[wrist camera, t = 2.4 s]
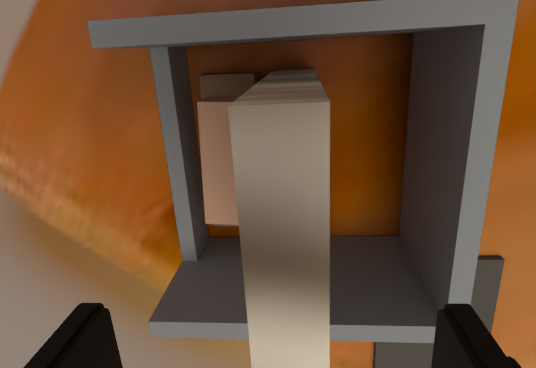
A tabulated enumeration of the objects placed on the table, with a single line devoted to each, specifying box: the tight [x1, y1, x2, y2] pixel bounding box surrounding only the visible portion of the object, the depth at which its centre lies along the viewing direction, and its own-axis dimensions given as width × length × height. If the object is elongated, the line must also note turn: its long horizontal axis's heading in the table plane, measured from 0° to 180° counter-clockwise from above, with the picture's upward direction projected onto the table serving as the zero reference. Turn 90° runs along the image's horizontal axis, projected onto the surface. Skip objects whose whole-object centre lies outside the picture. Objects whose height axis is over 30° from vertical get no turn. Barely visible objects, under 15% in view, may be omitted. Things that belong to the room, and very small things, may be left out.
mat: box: [374, 256, 504, 368], centre depth 34 cm, size 14×10×1 cm
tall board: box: [228, 68, 330, 368], centre depth 21 cm, size 12×3×18 cm, turn 3°
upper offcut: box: [197, 97, 239, 225], centre depth 27 cm, size 9×4×2 cm, turn 0°
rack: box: [87, 0, 519, 343], centre depth 25 cm, size 18×19×11 cm
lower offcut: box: [199, 72, 258, 227], centre depth 30 cm, size 12×4×2 cm, turn 2°
